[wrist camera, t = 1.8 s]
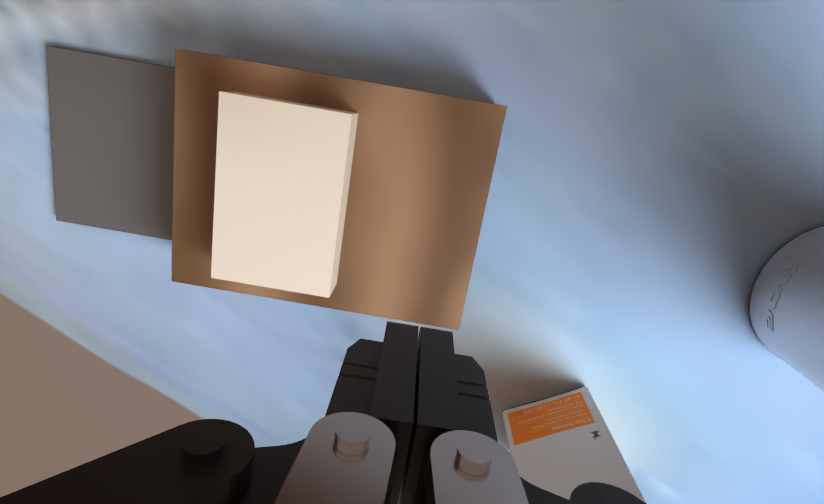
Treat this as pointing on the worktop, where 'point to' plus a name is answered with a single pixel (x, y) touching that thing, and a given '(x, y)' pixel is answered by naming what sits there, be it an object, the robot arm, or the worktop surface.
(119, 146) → the mat
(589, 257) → the worktop surface
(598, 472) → the skincare box
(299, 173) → the cream rectangular block
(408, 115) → the brown flat block
